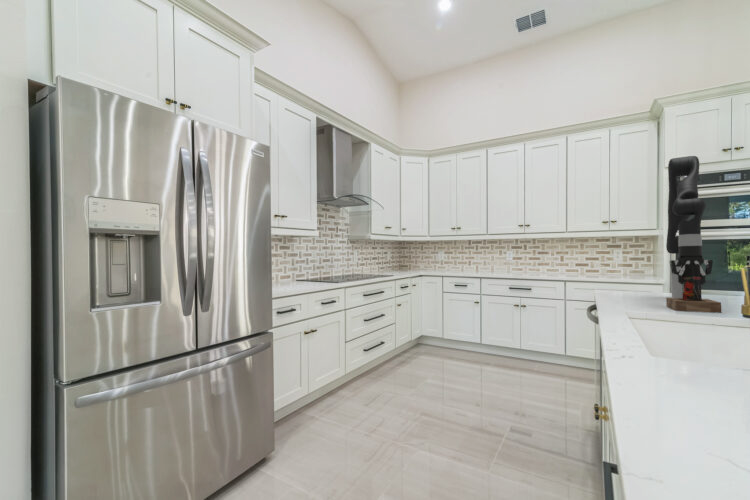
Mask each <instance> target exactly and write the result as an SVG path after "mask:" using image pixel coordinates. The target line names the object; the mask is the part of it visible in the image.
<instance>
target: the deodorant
mask: <svg viewBox="0 0 750 500" xmlns="http://www.w3.org/2000/svg"><path fill="white" fill-rule="evenodd" d="M683 266H684V265H683ZM683 266H682V268H683ZM700 266H701V265H685V271H684V273H683V274H682V276H683V284H682V289H683V299H684V300H702V299H703V298H702V285H701V273H700Z"/></svg>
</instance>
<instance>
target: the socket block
mask: <svg viewBox="0 0 750 500" xmlns="http://www.w3.org/2000/svg"><path fill="white" fill-rule="evenodd" d="M665 301H666V303H665V304H666V307H667V308H669V309H671V310H674V311H676V312H694V311H695V313H698V312H699V313H700V312H701V313H716V312H717V314H719V313H722V302H721V301H720V302H719V301H716V300H712V299H710V298H702V300H684V299H683V298H672V297H666V298H665Z"/></svg>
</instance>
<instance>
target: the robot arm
mask: <svg viewBox="0 0 750 500" xmlns="http://www.w3.org/2000/svg"><path fill="white" fill-rule="evenodd" d="M667 171H668V174H667V175H668V176H667V177H668V203H667V217H668V218H667V221H668V222H667V225H668V227H667V236H666V251H667V253H669V254H676V255H677V254H678V258H677V259H674V260H672V259H671V260H669V265H670V266H669V267H670V278H671V279H670V280H671V298H683V289H682V284H683V276H682V274H683V273H684V271H685V265H700V273H701V286H703V285H704V284H706V276H707V275H711V274H712V268H713V264H714V261H713V260H712V259H704V257H703V239H702V233H701V232H702V231H701V230H702V228H701V226H702V225H701V223H702V219H703V215H704V212H705V210H706V206H707V205H706V204H707V203H706V201H705V200H704V199H703V198H701V197H699V188H698V181H699V177H700V176H699V175H700V159H699V157H698V156H696V155H689V156H680V157H673V158H671V159H669V161H668V165H667ZM679 177H681V178H682V177H685V178H684V179H683V180H681V181H680V182H679V181H678V178H679ZM691 216H693V218H691V219H689V218H690V217H691ZM677 233H678V235H677ZM703 263H704V265H705V270H704V269H703V267H702V266H701V265H702V264H703ZM683 265H684V266H683ZM682 266H683V268H682Z"/></svg>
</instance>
